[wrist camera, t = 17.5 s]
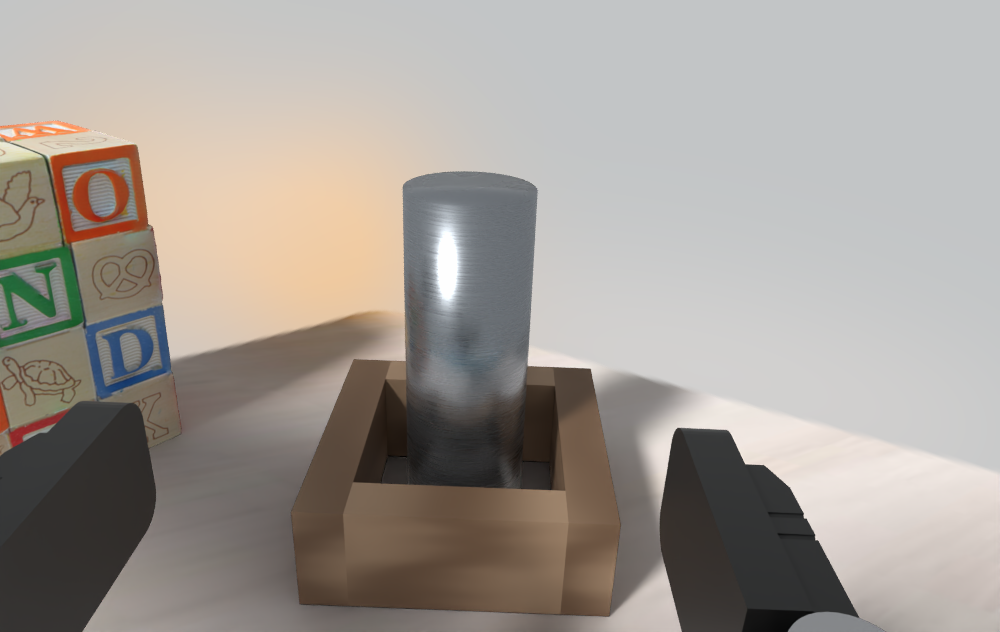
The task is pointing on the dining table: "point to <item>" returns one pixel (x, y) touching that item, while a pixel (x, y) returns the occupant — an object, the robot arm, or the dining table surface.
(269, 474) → the dining table surface
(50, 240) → the stack of blocks
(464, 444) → the brushed steel post
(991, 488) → the dining table surface
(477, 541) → the wooden square frame
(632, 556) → the dining table surface
